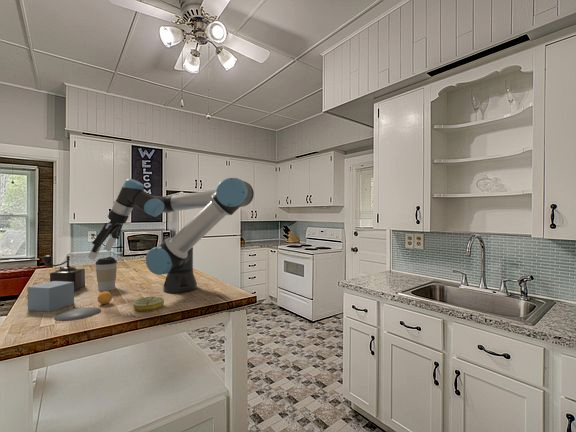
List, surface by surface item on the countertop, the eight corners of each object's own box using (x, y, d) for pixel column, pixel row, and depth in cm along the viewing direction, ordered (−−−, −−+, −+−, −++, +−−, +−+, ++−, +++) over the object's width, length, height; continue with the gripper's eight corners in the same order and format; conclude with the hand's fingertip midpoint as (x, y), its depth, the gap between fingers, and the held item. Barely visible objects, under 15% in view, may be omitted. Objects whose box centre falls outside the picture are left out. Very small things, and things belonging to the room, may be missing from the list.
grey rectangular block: (74, 303, 122) (73, 282, 122) (49, 311, 112) (48, 288, 112) (53, 302, 125) (53, 280, 125) (27, 310, 115) (27, 286, 115)
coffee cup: (110, 291, 141) (109, 259, 141) (91, 291, 142) (90, 259, 141) (121, 286, 151) (120, 256, 150) (103, 286, 151) (103, 256, 151)
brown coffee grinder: (62, 287, 149) (61, 251, 149) (86, 287, 150) (85, 251, 150) (39, 296, 133) (39, 256, 133) (66, 295, 135) (66, 255, 134)
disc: (109, 308, 115) (109, 308, 115) (76, 322, 101) (76, 321, 101) (79, 306, 118) (79, 306, 118) (43, 319, 104) (43, 318, 104)
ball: (114, 302, 123) (114, 290, 123) (105, 306, 119) (104, 293, 118) (104, 301, 124) (104, 289, 124) (94, 305, 120) (94, 292, 120)
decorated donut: (150, 303, 123) (150, 294, 123) (169, 306, 118) (169, 296, 118) (127, 310, 114) (127, 300, 114) (147, 314, 109) (147, 304, 109)
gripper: (124, 205, 145) (105, 243, 146) (97, 211, 120) (74, 257, 122) (139, 212, 146) (119, 250, 148) (115, 220, 121) (92, 265, 123)
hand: (99, 253), depth 135 cm, fingers open, 13 cm apart
